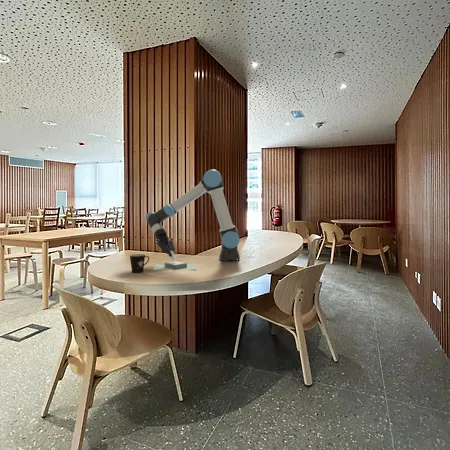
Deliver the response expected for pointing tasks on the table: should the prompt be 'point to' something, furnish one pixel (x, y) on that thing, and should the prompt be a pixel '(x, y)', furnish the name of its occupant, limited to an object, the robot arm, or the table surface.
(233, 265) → the table surface
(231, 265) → the table surface
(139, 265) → the coffee mug
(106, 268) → the table surface
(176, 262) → the slate picture frame
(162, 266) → the mat
